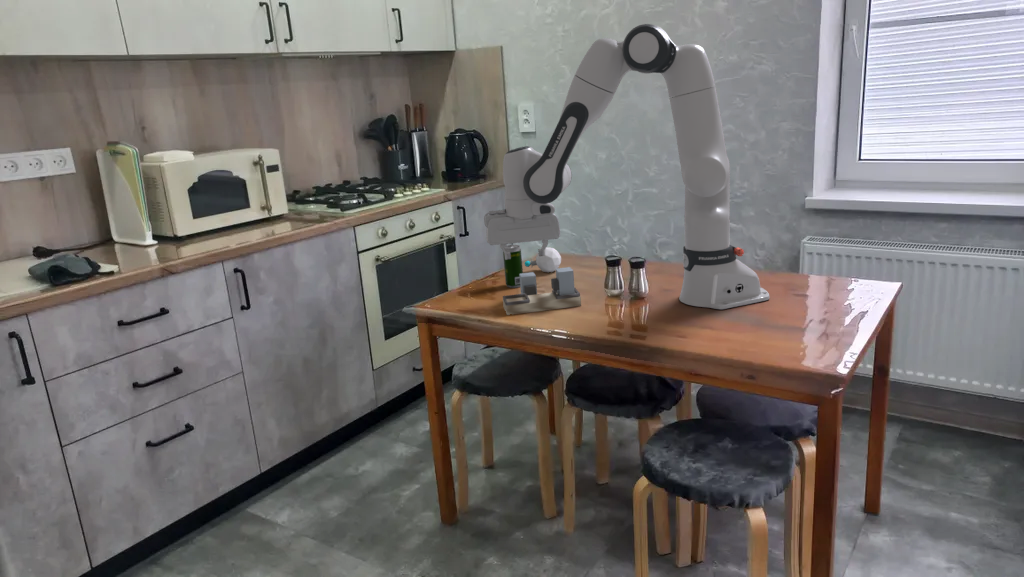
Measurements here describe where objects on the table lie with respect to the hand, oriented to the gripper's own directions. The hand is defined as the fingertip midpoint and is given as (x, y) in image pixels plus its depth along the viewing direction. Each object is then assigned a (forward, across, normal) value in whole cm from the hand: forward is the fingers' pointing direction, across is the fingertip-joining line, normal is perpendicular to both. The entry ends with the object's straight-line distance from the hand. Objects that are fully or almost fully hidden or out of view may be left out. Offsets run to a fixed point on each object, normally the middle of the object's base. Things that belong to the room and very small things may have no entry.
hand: (524, 257), depth 194 cm
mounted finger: (+9, +9, -9) cm, 16 cm away
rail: (+12, +2, -9) cm, 15 cm away
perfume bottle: (+12, +10, +26) cm, 31 cm away
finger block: (+12, 0, 0) cm, 12 cm away
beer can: (+12, -2, +14) cm, 19 cm away
